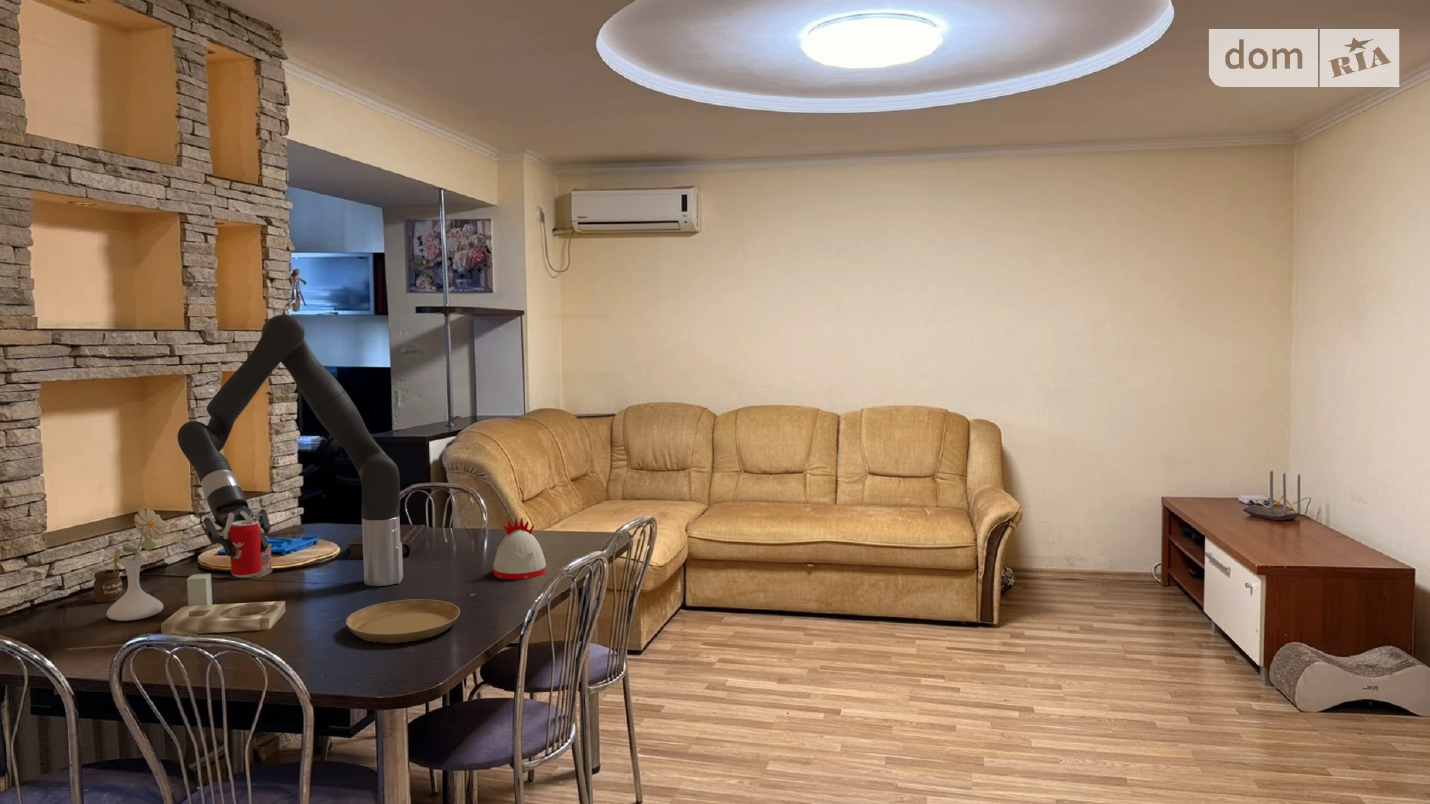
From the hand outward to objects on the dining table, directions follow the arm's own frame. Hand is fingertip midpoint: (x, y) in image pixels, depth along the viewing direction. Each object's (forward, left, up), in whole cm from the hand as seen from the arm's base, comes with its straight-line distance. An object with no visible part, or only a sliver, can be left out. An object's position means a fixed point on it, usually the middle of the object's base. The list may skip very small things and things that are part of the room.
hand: (249, 552), depth 215 cm
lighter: (+11, -46, -17) cm, 50 cm away
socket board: (+6, -1, -17) cm, 18 cm away
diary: (-18, -71, -17) cm, 75 cm away
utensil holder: (+41, -28, -17) cm, 52 cm away
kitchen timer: (-58, -35, -17) cm, 70 cm away
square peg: (+14, -11, -17) cm, 25 cm away
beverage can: (+1, -1, -6) cm, 6 cm away
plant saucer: (-34, +8, -17) cm, 39 cm away
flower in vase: (+28, -12, -17) cm, 35 cm away
